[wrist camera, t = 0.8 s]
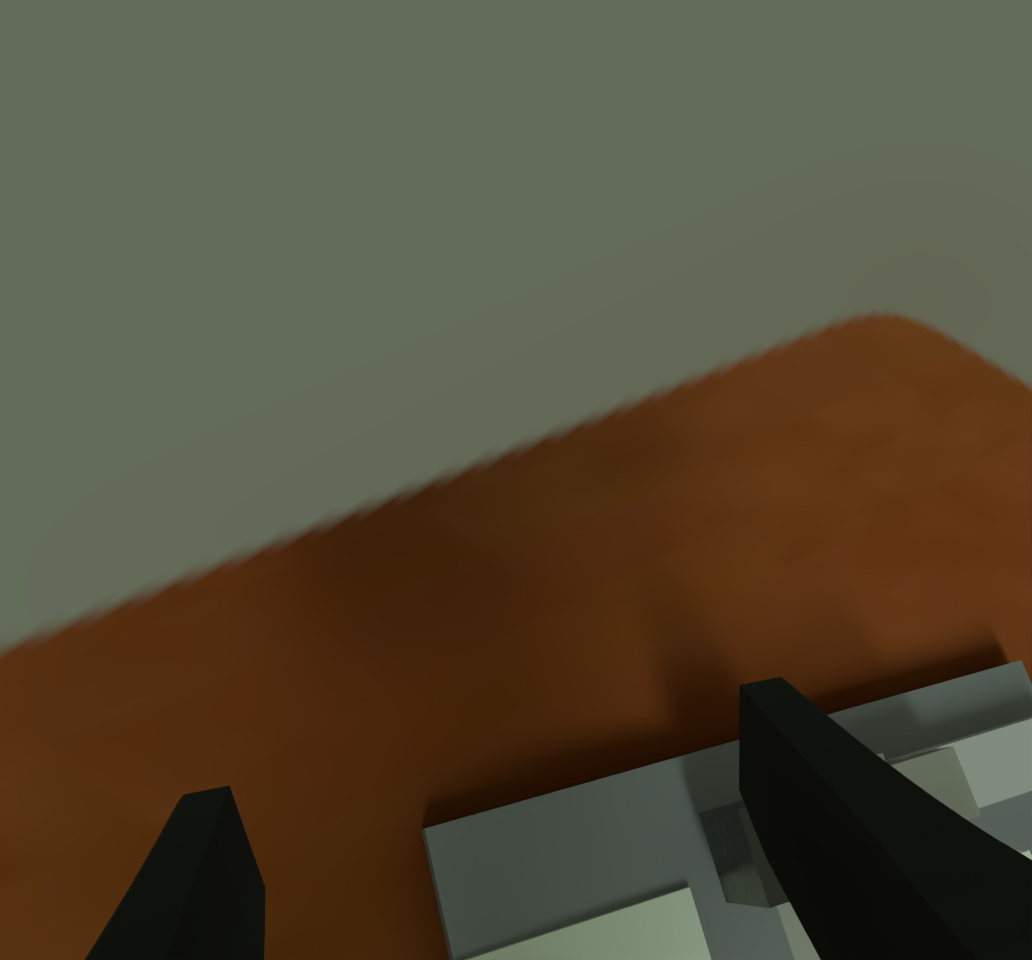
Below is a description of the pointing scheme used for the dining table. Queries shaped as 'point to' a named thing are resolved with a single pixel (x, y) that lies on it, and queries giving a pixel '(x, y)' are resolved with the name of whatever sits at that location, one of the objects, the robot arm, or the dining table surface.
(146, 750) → the dining table surface
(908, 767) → the bolt
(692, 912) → the housing plate
